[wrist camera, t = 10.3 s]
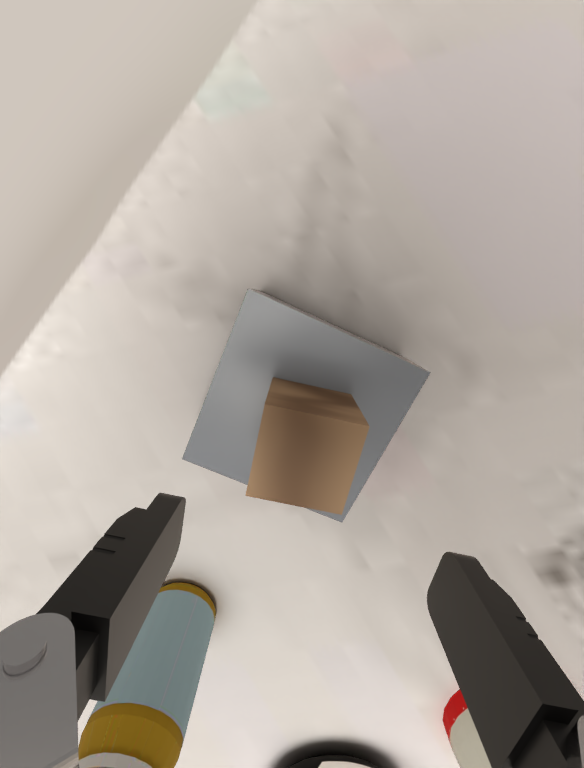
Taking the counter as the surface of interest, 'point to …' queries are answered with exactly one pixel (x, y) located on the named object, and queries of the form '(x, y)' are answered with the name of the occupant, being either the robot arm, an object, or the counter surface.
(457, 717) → the kitchen timer
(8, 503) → the counter surface
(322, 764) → the milk container
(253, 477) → the walnut cube
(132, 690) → the bottle
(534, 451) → the counter surface
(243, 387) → the gray square block
